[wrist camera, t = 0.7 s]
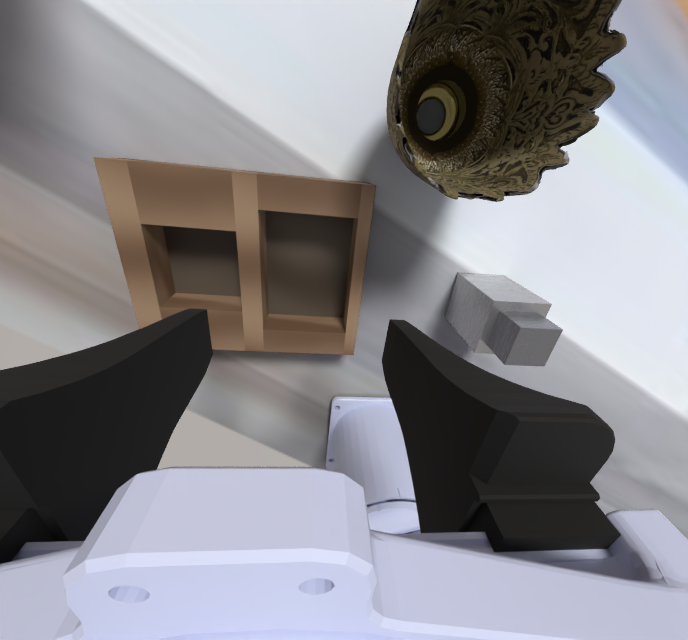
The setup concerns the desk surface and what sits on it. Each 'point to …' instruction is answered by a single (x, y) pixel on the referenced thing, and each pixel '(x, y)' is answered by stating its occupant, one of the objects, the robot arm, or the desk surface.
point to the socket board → (242, 251)
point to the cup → (499, 89)
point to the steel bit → (502, 319)
